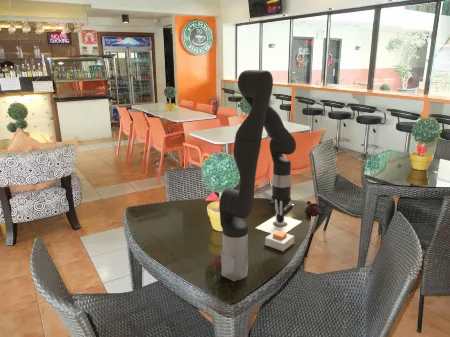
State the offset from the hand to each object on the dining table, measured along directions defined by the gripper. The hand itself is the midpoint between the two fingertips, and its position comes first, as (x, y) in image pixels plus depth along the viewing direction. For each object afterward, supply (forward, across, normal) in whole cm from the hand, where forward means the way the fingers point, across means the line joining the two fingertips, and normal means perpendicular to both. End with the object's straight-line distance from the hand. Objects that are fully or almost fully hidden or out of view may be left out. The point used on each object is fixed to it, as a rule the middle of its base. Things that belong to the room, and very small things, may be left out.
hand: (280, 222), depth 160 cm
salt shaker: (+10, -10, +17) cm, 22 cm away
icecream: (+11, -2, +36) cm, 38 cm away
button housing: (+10, 0, 0) cm, 10 cm away
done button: (+8, 0, 0) cm, 8 cm away
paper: (+10, -10, +16) cm, 22 cm away
